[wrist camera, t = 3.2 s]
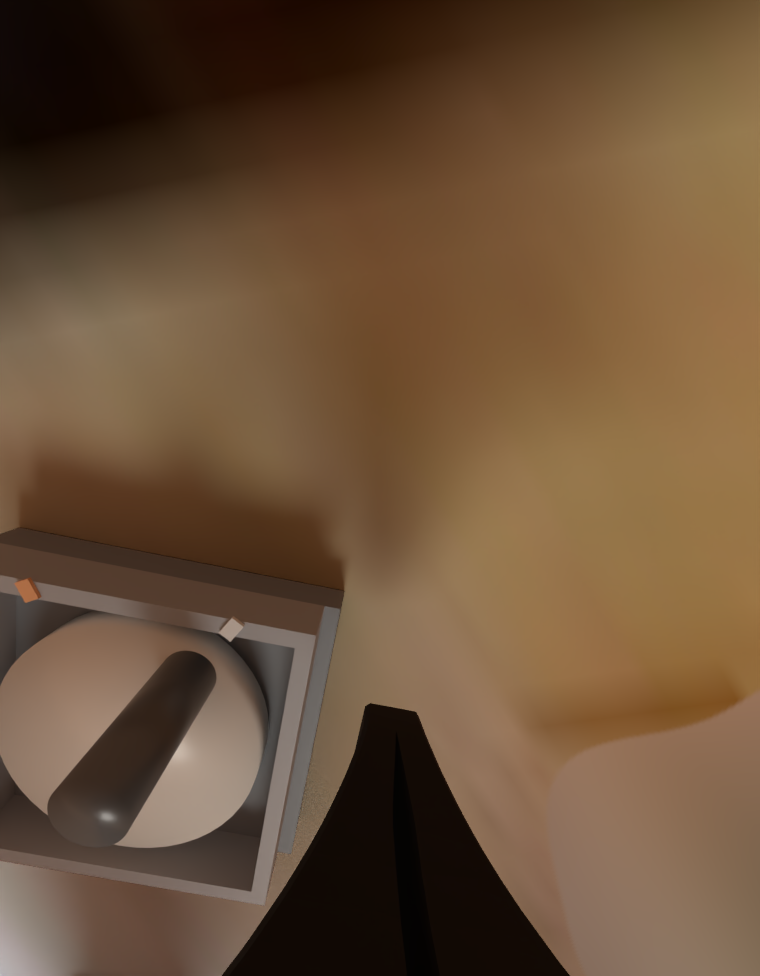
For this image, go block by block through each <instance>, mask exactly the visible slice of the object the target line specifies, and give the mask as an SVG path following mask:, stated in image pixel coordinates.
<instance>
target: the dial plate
mask: <svg viewBox="0 0 760 976" xmlns="http://www.w3.org/2000/svg"><path fill="white" fill-rule="evenodd" d="M343 596H344V591H341V590H336V589H331V588H326V587H321V586H315V585H310V584H305V583H300V582H295V581H290V580H285V579H280V578H274V577H269V576H264V575H259V574H254V573H249V572H244V571H239V570H233V569H228V568H223V567H218V566H213V565H208V564H203V563H198V562H192V561H187V560H182V559H177V558H172V557H167V556H162V555H157V554H152V553H146V552H141V551H136V550H131V549H126V548H121V547H116V546H111V545H105V544H100V543H95V542H90V541H85V540H80V539H75V538H70V537H64V536H59V535H54V534H49V533H44V532H39V531H34V530H29V529H24V528H16V529H13V530H11V531H8V532H5V533H2V534H0V686H1V683H2V681H3V679H4V677H5V675H6V674H7V672H8V671H9V669H10V668H11V666H12V665H13V664H14V663H15V662H16V661H17V659H18V658H19V657H20V656H21V655H22V654H23V653H25V652H26V651H27V650H28V649H30V648H31V647H32V646H33V645H35V644H36V643H38V642H39V641H40V640H42V639H43V638H45V637H46V636H48V635H49V634H50V633H52V632H53V631H55V630H56V629H58V628H59V627H61V626H62V625H64V624H65V623H67V622H69V621H71V620H72V619H74V618H76V617H79V616H81V615H84V614H87V613H89V612H93V611H102V612H108V613H113V614H118V615H123V616H129V617H134V618H139V619H144V620H150V621H155V622H160V623H165V624H171V625H176V626H181V627H186V628H192V629H197V630H202V631H207V632H213V633H214V634H216V635H217V636H219V637H220V638H221V639H223V640H224V641H225V642H226V643H227V644H228V645H230V646H231V647H232V648H233V649H234V650H235V651H236V652H237V653H238V655H239V656H240V657H241V658H242V659H243V660H244V661H245V663H246V664H247V666H248V667H249V668H250V670H251V671H252V673H253V674H254V676H255V678H256V680H257V682H258V684H259V686H260V688H261V691H262V694H263V696H264V699H265V703H266V708H267V712H268V725H269V729H268V740H267V744H266V748H265V752H264V755H263V758H262V761H261V764H260V767H259V770H258V773H257V776H256V779H255V781H254V784H253V786H252V788H251V791H250V793H249V795H248V796H247V798H246V800H245V801H244V803H243V804H242V806H241V807H240V808H239V809H238V810H237V811H236V813H235V814H234V815H233V816H232V817H231V818H230V819H228V820H227V821H226V822H225V823H224V824H222V825H221V826H219V827H218V828H216V829H215V830H213V831H212V832H210V833H208V834H206V835H204V836H202V837H199V838H197V839H194V840H191V841H188V842H185V843H182V844H177V845H172V846H167V847H155V848H135V847H127V846H119V845H114V844H113V845H110V846H107V847H101V848H91V847H85V846H81V845H78V844H75V843H73V842H71V841H69V840H67V839H66V838H64V837H63V836H62V835H61V834H60V833H58V832H57V830H56V829H55V828H54V827H53V825H52V824H51V822H50V819H49V817H48V815H47V814H45V813H44V812H43V811H42V810H40V809H39V808H38V807H37V806H36V805H35V804H34V803H33V802H31V801H30V799H29V798H28V797H27V796H26V795H25V794H24V793H23V792H22V791H21V790H20V788H19V787H18V786H17V784H16V783H15V781H14V780H13V779H12V777H11V776H10V774H9V772H8V770H7V768H6V767H5V765H4V763H3V760H2V758H1V755H0V861H5V862H11V863H17V864H23V865H29V866H35V867H40V868H46V869H52V870H58V871H64V872H70V873H76V874H81V875H87V876H93V877H99V878H105V879H111V880H117V881H122V882H128V883H134V884H140V885H146V886H152V887H158V888H163V889H169V890H175V891H181V892H187V893H193V894H199V895H204V896H210V897H216V898H222V899H228V900H234V901H240V902H245V903H251V904H257V905H263V906H265V902H266V898H267V894H268V889H269V885H270V881H271V877H272V873H273V869H274V864H275V860H276V856H277V852H282V853H288V854H291V852H292V847H293V842H294V838H295V833H296V828H297V823H298V818H299V813H300V809H301V804H302V799H303V794H304V789H305V784H306V779H307V774H308V769H309V764H310V759H311V754H312V749H313V744H314V739H315V734H316V729H317V724H318V720H319V715H320V710H321V705H322V700H323V695H324V690H325V685H326V680H327V675H328V670H329V665H330V660H331V655H332V650H333V645H334V640H335V635H336V630H337V626H338V621H339V616H340V611H341V606H342V601H343Z"/></svg>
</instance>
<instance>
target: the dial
mask: <svg viewBox="0 0 760 976" xmlns="http://www.w3.org/2000/svg"><path fill="white" fill-rule="evenodd" d="M268 729H269V725H268V712H267V708H266V703H265V699H264V696H263V694H262V691H261V688H260V686H259V684H258V682H257V680H256V678H255V676H254V674H253V673H252V671H251V670H250V668H249V667H248V666H247V664H246V663H245V661H244V660H243V659H242V658H241V657H240V656H239V655H238V653H237V652H236V651H235V650H234V649H233V648H232V647H231V646H230V645H228V644H227V643H226V642H225V641H224V640H223V639H221V638H220V637H219V636H217V635H216V634H214V633H213V632H207V631H202V630H197V629H192V628H186V627H181V626H176V625H171V624H165V623H160V622H155V621H150V620H144V619H139V618H134V617H129V616H123V615H118V614H113V613H108V612H102V611H93V612H89V613H87V614H84V615H81V616H79V617H76V618H74V619H72V620H71V621H69V622H67V623H65V624H64V625H62V626H61V627H59V628H58V629H56V630H55V631H53V632H52V633H50V634H49V635H48V636H46V637H45V638H43V639H42V640H40V641H39V642H38V643H36V644H35V645H33V646H32V647H31V648H30V649H28V650H27V651H26V652H25V653H23V654H22V655H21V656H20V657H19V658H18V659H17V661H16V662H15V663H14V664H13V665H12V666H11V668H10V669H9V671H8V672H7V674H6V675H5V677H4V679H3V681H2V683H1V686H0V755H1V758H2V760H3V763H4V765H5V767H6V768H7V770H8V772H9V774H10V776H11V777H12V779H13V780H14V781H15V783H16V784H17V786H18V787H19V788H20V790H21V791H22V792H23V793H24V794H25V795H26V796H27V797H28V798H29V799H30V801H31V802H33V803H34V804H35V805H36V806H37V807H38V808H39V809H40V810H42V811H43V812H44V813H45V814H47V815H48V817H49V819H50V822H51V824H52V825H53V827H54V828H55V829H56V830H57V832H58V833H60V834H61V835H62V836H63V837H64V838H66V839H67V840H69V841H71V842H73V843H75V844H78V845H81V846H85V847H91V848H101V847H107V846H110V845H113V844H114V845H119V846H127V847H135V848H155V847H167V846H172V845H177V844H182V843H185V842H188V841H191V840H194V839H197V838H199V837H202V836H204V835H206V834H208V833H210V832H212V831H213V830H215V829H216V828H218V827H219V826H221V825H222V824H224V823H225V822H226V821H227V820H228V819H230V818H231V817H232V816H233V815H234V814H235V813H236V811H237V810H238V809H239V808H240V807H241V806H242V804H243V803H244V801H245V800H246V798H247V796H248V795H249V793H250V791H251V788H252V786H253V784H254V781H255V779H256V776H257V773H258V770H259V767H260V764H261V761H262V758H263V755H264V752H265V748H266V744H267V740H268Z"/></svg>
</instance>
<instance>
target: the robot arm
mask: <svg viewBox="0 0 760 976" xmlns="http://www.w3.org/2000/svg"><path fill="white" fill-rule="evenodd" d="M222 976H570V975H569V974H568V973H567V972H566V970H565V969H564V968H563V967H562V965H561V964H560V963H559V961H558V960H557V959H556V957H555V956H554V955H553V953H552V952H551V950H550V949H549V948H548V946H547V945H546V944H545V942H544V941H543V939H542V938H541V937H540V935H539V934H538V933H537V931H536V930H535V928H534V927H533V926H532V924H531V923H530V922H529V920H528V919H527V917H526V916H525V915H524V913H523V912H522V911H521V909H520V908H519V906H518V905H517V903H516V902H515V900H514V899H513V897H512V896H511V894H510V893H509V891H508V890H507V888H506V887H505V885H504V884H503V882H502V881H501V879H500V877H499V876H498V874H497V873H496V871H495V869H494V868H493V866H492V864H491V863H490V861H489V860H488V858H487V856H486V855H485V853H484V851H483V850H482V848H481V846H480V845H479V843H478V841H477V839H476V838H475V836H474V834H473V832H472V830H471V829H470V827H469V825H468V823H467V821H466V819H465V818H464V816H463V814H462V812H461V810H460V808H459V806H458V804H457V802H456V800H455V798H454V796H453V794H452V792H451V790H450V788H449V786H448V784H447V782H446V780H445V778H444V776H443V774H442V772H441V769H440V767H439V765H438V763H437V761H436V758H435V756H434V754H433V751H432V749H431V747H430V744H429V742H428V739H427V737H426V735H425V732H424V730H423V727H422V724H421V722H420V719H419V716H418V715H417V713H416V712H414V711H409V710H403V709H398V708H393V707H387V706H382V705H377V704H371V703H370V704H368V705H367V706H365V710H364V714H363V719H362V723H361V727H360V732H359V736H358V740H357V745H356V749H355V752H354V755H353V758H352V760H351V763H350V765H349V768H348V770H347V773H346V775H345V777H344V780H343V782H342V784H341V786H340V788H339V790H338V792H337V795H336V797H335V799H334V801H333V803H332V805H331V807H330V809H329V811H328V813H327V815H326V817H325V819H324V821H323V823H322V825H321V826H320V828H319V830H318V832H317V834H316V835H315V837H314V839H313V841H312V843H311V844H310V846H309V848H308V850H307V851H306V853H305V855H304V856H303V858H302V860H301V861H300V863H299V865H298V866H297V868H296V870H295V871H294V873H293V875H292V876H291V878H290V879H289V881H288V882H287V884H286V886H285V887H284V889H283V890H282V892H281V893H280V895H279V896H278V898H277V899H276V901H275V902H274V904H273V905H272V907H271V908H270V909H269V911H268V912H267V914H266V915H265V917H264V918H263V920H262V921H261V923H260V924H259V926H258V927H257V929H256V930H255V931H254V933H253V934H252V936H251V937H250V939H249V940H248V941H247V943H246V944H245V946H244V947H243V948H242V950H241V951H240V952H239V954H238V955H237V956H236V958H235V959H234V960H233V962H232V963H231V964H230V966H229V967H228V968H227V970H226V971H225V972H224V973H223V975H222Z"/></svg>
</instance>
